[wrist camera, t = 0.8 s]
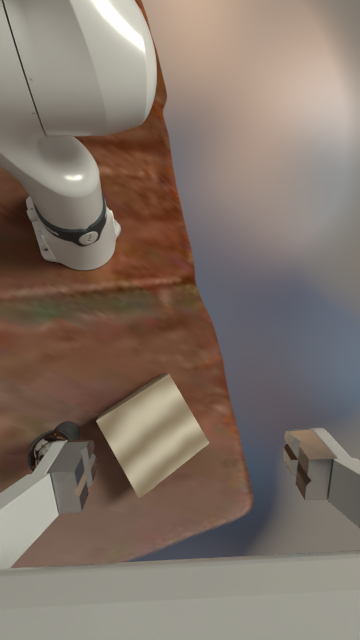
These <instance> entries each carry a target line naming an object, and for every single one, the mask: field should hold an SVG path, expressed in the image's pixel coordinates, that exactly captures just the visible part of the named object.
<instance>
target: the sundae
mask: <svg viewBox="0 0 360 640" xmlns="http://www.w3.org/2000/svg"><path fill="white" fill-rule="evenodd" d="M79 435H80V431H79V428H78V426H77V425H76V424H74V423H72V422H64V423H61V424H60V425H59V426H57V427H56V429H55V430H52V431H48V432H46V433H44V434H42V435H40V436H39V437H38V438H37V439H35V441H34V442H33V443H32V445H31V446H30V449H29V453H28V463H29V466H30V468H31V470H32V471H34V470H35V468H36V467H37V466H38V464H39V463H40V461H41V460H42V458H43V457H44V455H45V454H46V453H47V451H48V450H49V448H50V447H51V445H52V444H53V443H54V442H56V441H68V440H78V439H79Z"/></svg>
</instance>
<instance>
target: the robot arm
mask: <svg viewBox="0 0 360 640" xmlns="http://www.w3.org/2000/svg"><path fill="white" fill-rule="evenodd" d="M156 82H157V66H156V56H155V51H154V45H153V41H152V38H151V34H150V31H149V28H148V26H147V23H146V21H145V18H144V16H143V14H142V12H141V10H140V9H139V7H138V5H137V4H136V2H135V0H0V167H2V168H3V169H5V170H6V171H7V172H9V173H10V174H11V175H12V176H14V177H15V178H16V179H17V180H18V181H19V182H20V183H21V184H22V186H23V187H24V189H25V190H26V191H27V193H28V194H29V197H28V198H27V199H26V205H27V208H28V210H27V214H28V217H29V219H30V220H31V222H32V224H33V228H34V231H35V234H36V238H37V241H38V244H39V247H40V251H41V254H42V256H43V258H44V259H45V260H47V261H52V262H59V263H61V264H63V265H65V266H67V267H70V268H72V269H76V270H92V269H95V268H98V267H100V266H102V265H104V264H105V263H106V262H107V261H108V260H109V259H110V258H111V257H112V255H113V253H114V250H115V243H116V238H117V237H118V235H119V234H120V231H121V228H120V225H119V224H118V223H117V222H116V221H115V219H114V217H113V213H112V211H111V210H109V209H108V208H107V206H106V202H105V199H104V196H103V194H102V192H101V185H100V177H99V170H98V167H97V164H96V162H95V160H94V158H93V156H92V155H91V154H90V152H89V151H88V150H87V149H86V148H85V147H84V145H83V144H82V143H81V142H80V141H79V140H77V139H76V138H75V137H73V136H105V135H110V134H113V133H117V132H121V131H125V130H128V129H131V128H134V127H138V126H140V125H142V124H143V122H144V121H145V119H146V118H147V116H148V114H149V112H150V109H151V107H152V104H153V100H154V96H155V91H156ZM46 249H48V251H45V250H46ZM285 440H286V442H287V444H286V445H285V447H284V460H285V463H286V466H287V468H288V470H289V472H290V473H291V474H292V475H293V476H295V477H296V485H297V487H298V489H299V490H300V492H301V494H302V496H303V498H304V499H305V500H328V502H330V503H331V504H332V505H333V506H334V507H336V508H337V509H338V510H339V511H340V512H342V514H344V515H345V516H346V517H347V518H348V519H350V520H351V521H352V522H353V523H354V524H355V525H357V526H358V527H359V528H360V461H359V460H358V459H356V458H351V457H350V456H349V455H348V454H347V453H346V452H345V451H344V449H343V448H342V447H341V446H340V445H339V444H338V443H337V442H336V441H335V440H334V439H333V437H332V436H331V435H330V434H329V433H328V432H327V431H326V430H325V429H323V428H312V429H300V430H286V432H285ZM94 448H95V447H94V441H92V440H68V441H56V442H54V443H53V444H52V445H51V447H50V448H49V450H48V451H47V453H46V454H45V455H44V457H43V458H42V460H41V461H40V463H39V464H38V466H37V467H36V468H35V470H34V471H33V473H32V474H28V475H26V476H25V477H23V478H22V479H20V480H19V481H17V482H16V483H15V484H13V485H12V486H10V487H9V488H7V489H6V490H4V491H3V492H1V493H0V640H360V550H354V551H335V552H315V553H297V554H278V555H259V556H240V557H222V558H202V559H183V560H163V561H145V562H125V563H106V564H87V565H68V566H49V567H30V568H11V569H10V567H11V566H12V565H13V564H14V563H15V562H16V561H17V560H18V558H19V557H20V556H21V555H22V554H23V553H24V552H25V551H26V550H27V549H28V548H29V547H30V545H31V544H32V543H33V542H34V541H35V540H36V539H37V538H38V537H39V536H40V535H41V534H42V533H43V531H44V530H45V529H46V528H47V527H48V526H49V525H50V524H51V523H52V522H53V521H54V520H55V518H56V517H57V516H58V515H59V514H60V513H72V512H82V510H83V507H84V505H85V502H86V500H87V497H88V487H89V486H90V485H91V484H92V483H93V481H94V478H95V475H96V469H97V460H96V456H95V455H94V454H93V451H94Z"/></svg>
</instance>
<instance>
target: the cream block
mask: <svg viewBox="0 0 360 640" xmlns="http://www.w3.org/2000/svg"><path fill="white" fill-rule="evenodd" d="M96 422H97V424H98V426H99V427H100V429H101V431H102V433H103V435H104V436H105V438H106V440H107V442H108V444H109V445H110V447H111V449H112V451H113V453H114V454H115V456H116V458H117V460H118V462H119V463H120V465H121V467H122V469H123V471H124V472H125V474H126V476H127V478H128V480H129V481H130V483H131V485H132V487H133V488H134V490H135V492H136V494H137V496H138V497H139V499H140V498H141V497H142V496H143V495H145V494H146V493H147V492H148V491H150V490H151V489H152V488H153V487H155V486H156V485H157V484H158V483H160V482H161V481H162V480H163V479H165V478H166V477H167V476H168V475H170V474H171V473H172V472H173V471H175V470H176V469H177V468H179V467H180V466H181V465H182V464H184V463H185V462H186V461H187V460H189V459H190V458H191V457H192V456H194V455H195V454H196V453H197V452H199V451H200V450H201V449H202V448H204V447H205V446H206V445H207V444H209V442H208V440H207V438H206V437H205V435H204V433H203V431H202V430H201V428H200V426H199V425H198V423H197V421H196V419H195V418H194V416H193V414H192V412H191V411H190V409H189V407H188V406H187V404H186V402H185V400H184V399H183V397H182V395H181V393H180V392H179V390H178V388H177V387H176V385H175V383H174V381H173V380H172V378H171V376H170V374H167V373H163V374H162V375H160V376H159V377H157V378H156V379H154V380H152V381H151V382H149V383H148V384H146V385H145V386H143V387H141V388H140V389H138V390H137V391H135V392H134V393H132V394H130V395H129V396H127V397H126V398H124V399H123V400H121V401H119V402H118V403H116V404H115V405H113V406H112V407H110V408H108V409H107V410H105V411H104V412H102V413H101V414H99V416H98V418H97V420H96Z"/></svg>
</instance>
